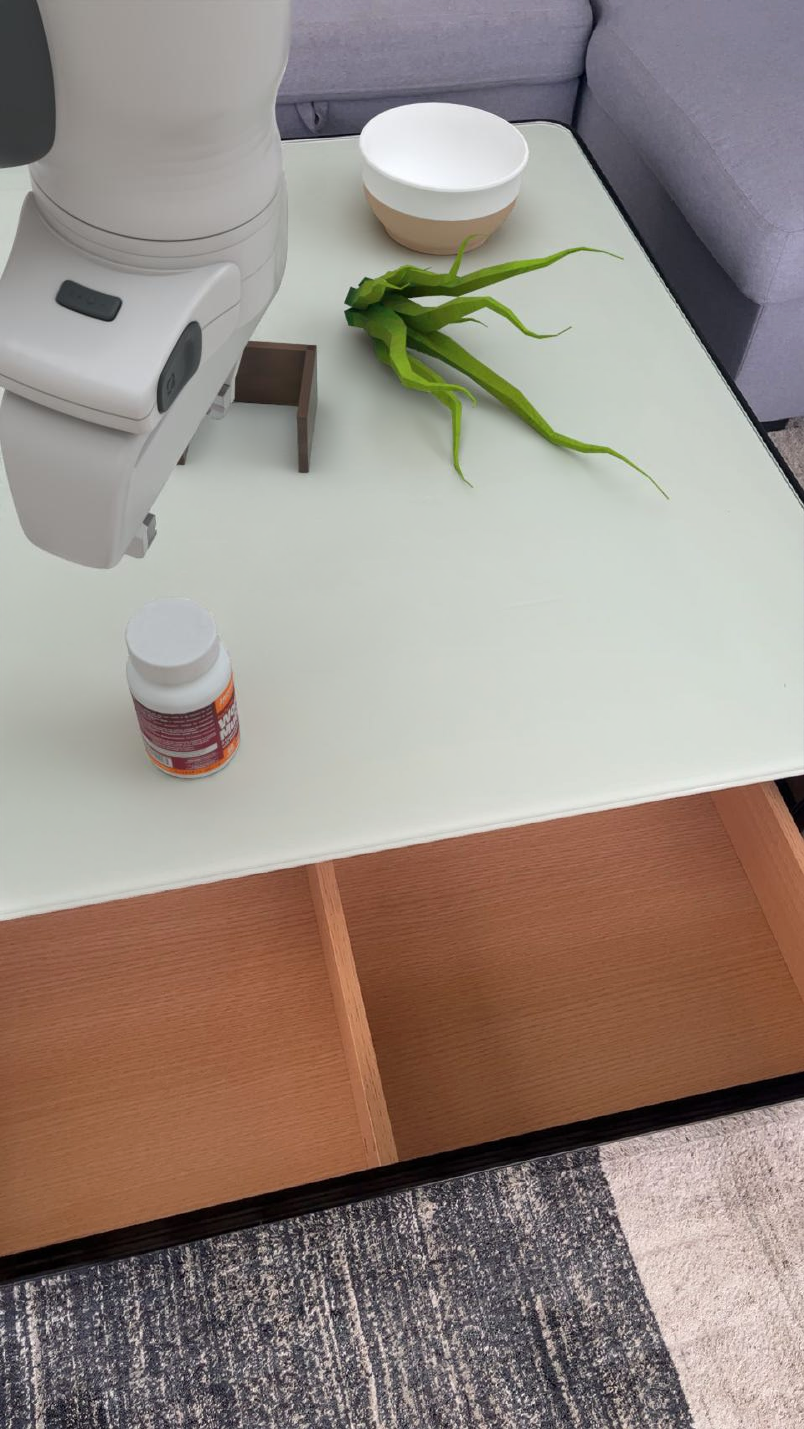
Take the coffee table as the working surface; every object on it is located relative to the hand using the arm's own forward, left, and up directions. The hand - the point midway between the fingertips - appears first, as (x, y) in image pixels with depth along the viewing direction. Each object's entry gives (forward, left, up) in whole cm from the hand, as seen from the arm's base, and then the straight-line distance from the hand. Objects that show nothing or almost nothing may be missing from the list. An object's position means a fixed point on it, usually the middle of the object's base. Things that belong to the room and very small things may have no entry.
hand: (174, 472), depth 52 cm
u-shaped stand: (-1, +30, -22) cm, 37 cm away
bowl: (+14, +62, -22) cm, 67 cm away
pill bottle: (-1, -1, -22) cm, 22 cm away
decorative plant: (+19, +34, -22) cm, 44 cm away
